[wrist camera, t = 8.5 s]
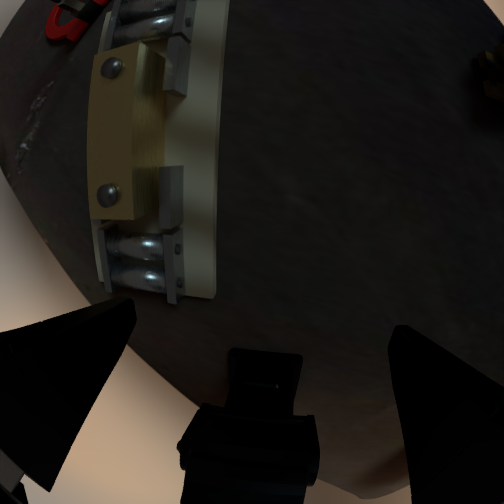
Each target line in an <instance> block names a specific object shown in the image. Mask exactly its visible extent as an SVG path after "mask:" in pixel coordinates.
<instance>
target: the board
mask: <svg viewBox="0 0 504 504" xmlns="http://www.w3.org/2000/svg"><path fill="white" fill-rule="evenodd" d="M229 1H230V0H197V6H196V13H195V19H194V27H193V34H192V42H187V43H188V44H189V45H190V46H191V47H192V48H191V57H190V67H189V77H188V89H187V96H183V97H175V96H173V95H171V94H169V93H167V98H166V117H165V166H171V165H184V179H183V219H184V221H183V222H181V223H180V224H178V225H176V226H175V227H179V228H183V247H184V272H185V290H186V292H185V294H184V295H187V296H194V297H202V298H209V299H213V298H214V296H215V294H216V219H217V178H218V151H219V129H220V110H221V94H222V79H223V65H224V53H225V41H226V30H227V20H228V10H229ZM111 12H112V11H111ZM111 12H108V13H107V14H106V18H105V22H104V26H103V30H102V35H101V39H100V44H99V49H98V54H100V53H103V52H105V51H103V48H104V42H105V38H106V33H107V28H108V24H109V20H110V16H111ZM175 12H176V11H173V12H168V13H163V14H159V15H154V16H150V17H146V18H142V19H139V20H135V21H132V22H130V24H131V23H134V22H138V21H142V20H146V19H150V18H154V17H158V16H163V15H167V14H172V13H175ZM168 39H169V38H165V39H160V40H155V41H150V42H146V43H143V44H145V45H146V46H148V47H149V48H151V49H152V50H154V51H155V52H157V53H158V54H160V55H161V56H163V57H164V58H166V53H167V46H168ZM111 223H115V224H118V230H119V231H133V232H147V233H160V234H164V233H166V232H167V231H169V230H171V229H162V228H160V219H159V209H158V210H155V211H153V212H151V213H148V214H146V215H144V216H142V217H140V218H137V219H135V220H111V221H109V222H106V223H104V224H102V225H98V224H93V219H91V224H92V234H93V242H94V250H95V257H96V264H97V270H98V276H99V281H101V282H104V279H103V273H102V267H101V260H100V253H99V245H98V237H97V229H99V228H102V227H104V226H106V225H108V224H111ZM173 228H174V227H173ZM121 261H122V262H128V263H136V264H143V265H152V266H160V267H165V264H164V262H161V261H152V260H143V259H135V258H127V257H121Z"/></svg>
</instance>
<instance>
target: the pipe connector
mask: <svg viewBox="0 0 504 504" xmlns="http://www.w3.org/2000/svg"><path fill="white" fill-rule="evenodd" d="M494 50H495V51H494V52H493V53H492V54H491V53H489V52H487V51H483V52H481V53H478V54H477V57H478V61H479V65H480V68H483V69H485V70H487V71H488V72H489V77H490V79H489V80H486V81H483V85H484V91H485V96H488V97H490V98H493V99H496V100H498V101H500V102H502V103H503V104H504V44H501V45H498V46H495V47H494Z"/></svg>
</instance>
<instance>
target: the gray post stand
mask: <svg viewBox="0 0 504 504" xmlns="http://www.w3.org/2000/svg"><path fill="white" fill-rule="evenodd" d="M51 1H53V2H55V3H57V4H56V5H55V6H54V8H53V10H52V11H51V13H50V15H49V18H48V20H47V24H46V35H47V37H48V38H50V39H53V40H61V39H64V38H67V39H69V40H71V41H74V42H77V41H78V39H79V38H80V36H81V35H82V33H83V32H84V31H85V29H86V28H87V27H88V25H89V24H91V23H92V21H93V20H94V19H95V18H96V16H97V15H98V14H99V13H100V11H101V10H102V9H103V7H104V5H105V4H106V3H107V2H108V1H109V0H51ZM63 9H65V10H67V11H70V12H71V13H70V15H72V16H74V17H76V18H78V19H76V18H75V19H73V20H72V21H71V22H69V23H68V24H66V25H64V26H62V27H59V26H58V19H59V16H60V13H61V11H62V10H63Z"/></svg>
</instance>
